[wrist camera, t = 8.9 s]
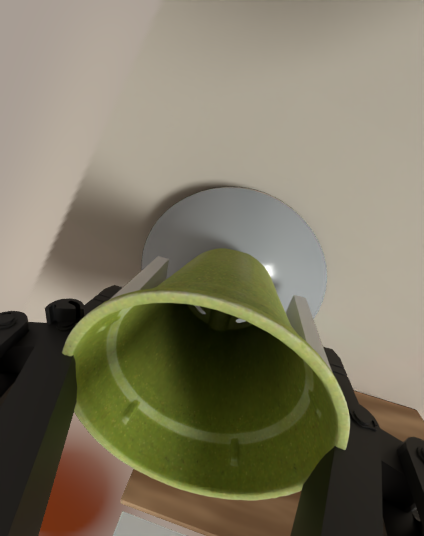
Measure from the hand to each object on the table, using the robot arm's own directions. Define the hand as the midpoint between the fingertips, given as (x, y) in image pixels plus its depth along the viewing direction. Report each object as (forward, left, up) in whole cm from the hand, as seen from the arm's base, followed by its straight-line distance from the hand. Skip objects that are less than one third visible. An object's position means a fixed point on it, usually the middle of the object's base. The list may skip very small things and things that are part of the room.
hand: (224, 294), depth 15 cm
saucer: (0, 0, -2) cm, 2 cm away
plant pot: (0, 0, 0) cm, 1 cm away
